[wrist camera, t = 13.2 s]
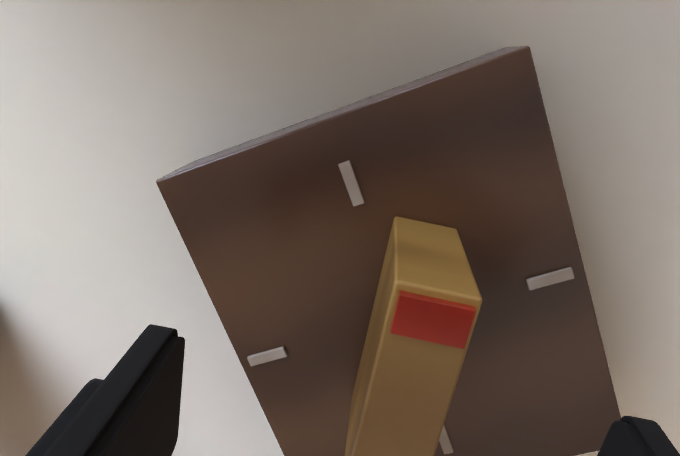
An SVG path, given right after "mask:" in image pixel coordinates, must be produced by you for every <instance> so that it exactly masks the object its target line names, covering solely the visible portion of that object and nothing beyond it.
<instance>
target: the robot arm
mask: <svg viewBox="0 0 680 456" xmlns="http://www.w3.org/2000/svg"><path fill="white" fill-rule="evenodd" d="M184 348H185V339H184V338H183V337H178V333H177V330H176V329H172V328H167V327H162V326H157V325H152V324H151V325H149V326H148V327H147V328H146V329H145V330H144V331H143V333H142V334H141V335H140V336H139V337H138V339H137V340H136V341H135V342H134V344H133V345H132V346H131V347H130V349H129V350H128V351H127V352H126V354H125V355H124V356H123V357H122V358H121V360H120V361H119V362H118V363H117V365H116V366H115V367H114V368H113V370H112V371H111V372H110V373H109V375H108V376H107V377H106V378H105V379H104V380H101V379H96V378H95V379H92V380H90V381H89V382H88V383H87V384H86V385H85V386H84V387H83V389H82V390H81V391H80V392H79V393H78V394H77V396H76V397H75V398H74V399H73V400H72V402H71V403H70V404H69V405H68V406H67V407H66V409H65V410H64V411H63V412H62V413H61V414H60V416H59V417H58V418H57V419H56V420H55V421H54V423H53V424H52V425H51V426H50V427H49V429H48V430H47V431H46V432H45V433H44V434H43V436H42V437H41V438H40V439H39V440H38V441H37V443H36V444H35V445H34V446H33V447H32V449H31V450H30V451H29V452H28V453H27V454H26V456H171V455H172V453H173V451H174V448H175V445H176V441H177V437H178V427H179V414H180V400H181V387H182V374H183V361H184ZM597 456H680V454H679V453H678V451H677V450H676V448H675V447H674V446H673V444H672V443H671V441H670V440H669V439H668V437H667V436H666V434H665V433H664V432H663V430H662V429H661V427H660V426H659V425H658V424H657V423H656V422H654V421H652V420H647V419H642V418H637V417H631V416H623V417H622V418H621V419H620V421H614V422H613V423H612V425H611V426H610V429H609V431H608V433H607V435H606V437H605V440H604V442H603V444H602V446H601V449H600V451H599V453H598V455H597Z"/></svg>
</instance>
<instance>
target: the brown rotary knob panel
mask: <svg viewBox="0 0 680 456" xmlns="http://www.w3.org/2000/svg"><path fill="white" fill-rule="evenodd" d="M156 183H157V185H158V187H159V189H160V192H161V194H162V196H163V198H164V200H165V202H166V204H167V207H168V209H169V211H170V213H171V215H172V217H173V219H174V221H175V224H176V226H177V228H178V230H179V232H180V234H181V236H182V238H183V241H184V243H185V245H186V247H187V249H188V251H189V253H190V256H191V258H192V260H193V262H194V264H195V266H196V268H197V270H198V273H199V275H200V277H201V279H202V281H203V283H204V285H205V287H206V290H207V292H208V294H209V296H210V298H211V300H212V302H213V305H214V307H215V309H216V311H217V313H218V315H219V317H220V319H221V322H222V324H223V326H224V328H225V330H226V332H227V334H228V336H229V339H230V341H231V343H232V345H233V347H234V349H235V351H236V354H237V356H238V358H239V360H240V362H241V364H242V366H243V368H244V371H245V373H246V375H247V377H248V379H249V381H250V383H251V385H252V388H253V390H254V392H255V394H256V396H257V398H258V400H259V402H260V405H261V407H262V409H263V411H264V413H265V415H266V417H267V420H268V422H269V424H270V426H271V428H272V430H273V432H274V434H275V437H276V439H277V441H278V443H279V445H280V447H281V449H282V451H283V454H284V456H345V449H346V441H347V433H348V424H349V416H350V408H351V399H352V395H353V390H354V386H355V382H356V377H357V373H358V369H359V365H360V360H361V356H362V352H363V348H364V343H365V339H366V335H367V331H368V326H369V322H370V318H371V313H372V309H373V305H374V301H375V296H376V292H377V288H378V284H379V279H380V275H381V271H382V267H383V262H384V258H385V254H386V249H387V245H388V241H389V237H390V232H391V228H392V224H393V220H394V218H395V217H402V218H407V219H412V220H417V221H421V222H426V223H431V224H436V225H440V226H445V227H450V228H455V229H456V230H457V232H458V235H459V237H460V240H461V243H462V246H463V248H464V251H465V254H466V256H467V259H468V262H469V265H470V267H471V270H472V273H473V275H474V278H475V281H476V284H477V286H478V289H479V292H480V294H481V297H482V304H481V307H480V310H479V313H478V317H477V320H476V323H475V326H474V329H473V333H472V336H471V339H470V342H469V345H468V349H467V352H466V355H465V358H464V362H463V365H462V368H461V371H460V374H459V378H458V381H457V384H456V387H455V390H454V394H453V397H452V400H451V403H450V407H449V410H448V413H447V416H446V419H445V423H444V426H443V429H442V432H441V435H440V439H439V442H438V445H437V448H436V452H435V455H434V456H574V455H579V454H584V453H589V452H594V451H599V450H600V449H601V446H602V444H603V442H604V440H605V437H606V435H607V433H608V431H609V429H610V426H611V425H612V423H613V422H614V421H620V419H621V416H620V412H619V408H618V404H617V400H616V395H615V391H614V387H613V383H612V379H611V375H610V371H609V367H608V363H607V359H606V355H605V351H604V347H603V343H602V339H601V335H600V330H599V326H598V322H597V318H596V314H595V310H594V306H593V302H592V298H591V294H590V290H589V286H588V282H587V278H586V274H585V270H584V265H583V261H582V257H581V253H580V249H579V245H578V241H577V237H576V233H575V229H574V225H573V221H572V217H571V213H570V209H569V205H568V200H567V196H566V192H565V188H564V184H563V180H562V176H561V172H560V168H559V164H558V160H557V156H556V152H555V148H554V144H553V140H552V135H551V131H550V127H549V123H548V119H547V115H546V111H545V107H544V103H543V99H542V95H541V91H540V87H539V83H538V79H537V75H536V71H535V66H534V62H533V58H532V54H531V50H530V47H529V46H520V47H507V48H503V49H500V50H497V51H495V52H492V53H489V54H486V55H484V56H481V57H478V58H476V59H473V60H470V61H467V62H465V63H462V64H459V65H456V66H454V67H451V68H448V69H445V70H443V71H440V72H437V73H435V74H432V75H429V76H426V77H424V78H421V79H418V80H415V81H413V82H410V83H407V84H404V85H402V86H399V87H396V88H393V89H391V90H388V91H385V92H383V93H380V94H377V95H374V96H372V97H369V98H366V99H363V100H361V101H358V102H355V103H352V104H350V105H347V106H344V107H341V108H339V109H336V110H333V111H331V112H328V113H325V114H322V115H320V116H317V117H314V118H311V119H309V120H306V121H303V122H300V123H298V124H295V125H292V126H289V127H287V128H284V129H281V130H279V131H276V132H273V133H270V134H268V135H265V136H262V137H259V138H257V139H254V140H251V141H248V142H246V143H243V144H240V145H237V146H235V147H232V148H229V149H227V150H224V151H221V152H218V153H216V154H213V155H210V156H207V157H205V158H202V159H199V160H196V161H194V162H191V163H189V164H187V165H185V166H183V167H181V168H179V169H177V170H175V171H174V172H172V173H170V174H168V175H166V176H164V177H162V178H160V179H158V180H157V181H156Z"/></svg>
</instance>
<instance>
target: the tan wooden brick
mask: <svg viewBox="0 0 680 456" xmlns="http://www.w3.org/2000/svg"><path fill="white" fill-rule="evenodd" d="M481 304H482V297H481V294H480V292H479V289H478V286H477V284H476V281H475V278H474V275H473V273H472V270H471V267H470V265H469V262H468V259H467V256H466V254H465V251H464V248H463V246H462V243H461V240H460V237H459V235H458V232H457V230H456V229H455V228H450V227H445V226H440V225H436V224H431V223H426V222H421V221H417V220H412V219H407V218H402V217H395V218H394V220H393V224H392V228H391V232H390V237H389V241H388V245H387V249H386V254H385V258H384V262H383V267H382V271H381V275H380V279H379V284H378V288H377V292H376V296H375V301H374V305H373V309H372V313H371V318H370V322H369V326H368V331H367V335H366V339H365V343H364V348H363V352H362V356H361V360H360V365H359V369H358V373H357V377H356V382H355V386H354V390H353V395H352V399H351V408H350V416H349V424H348V433H347V441H346V449H345V456H434V455H435V452H436V448H437V445H438V442H439V439H440V435H441V432H442V429H443V426H444V423H445V419H446V416H447V413H448V410H449V407H450V403H451V400H452V397H453V394H454V390H455V387H456V384H457V381H458V378H459V374H460V371H461V368H462V365H463V362H464V358H465V355H466V352H467V349H468V345H469V342H470V339H471V336H472V333H473V329H474V326H475V323H476V320H477V317H478V313H479V310H480V307H481Z"/></svg>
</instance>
